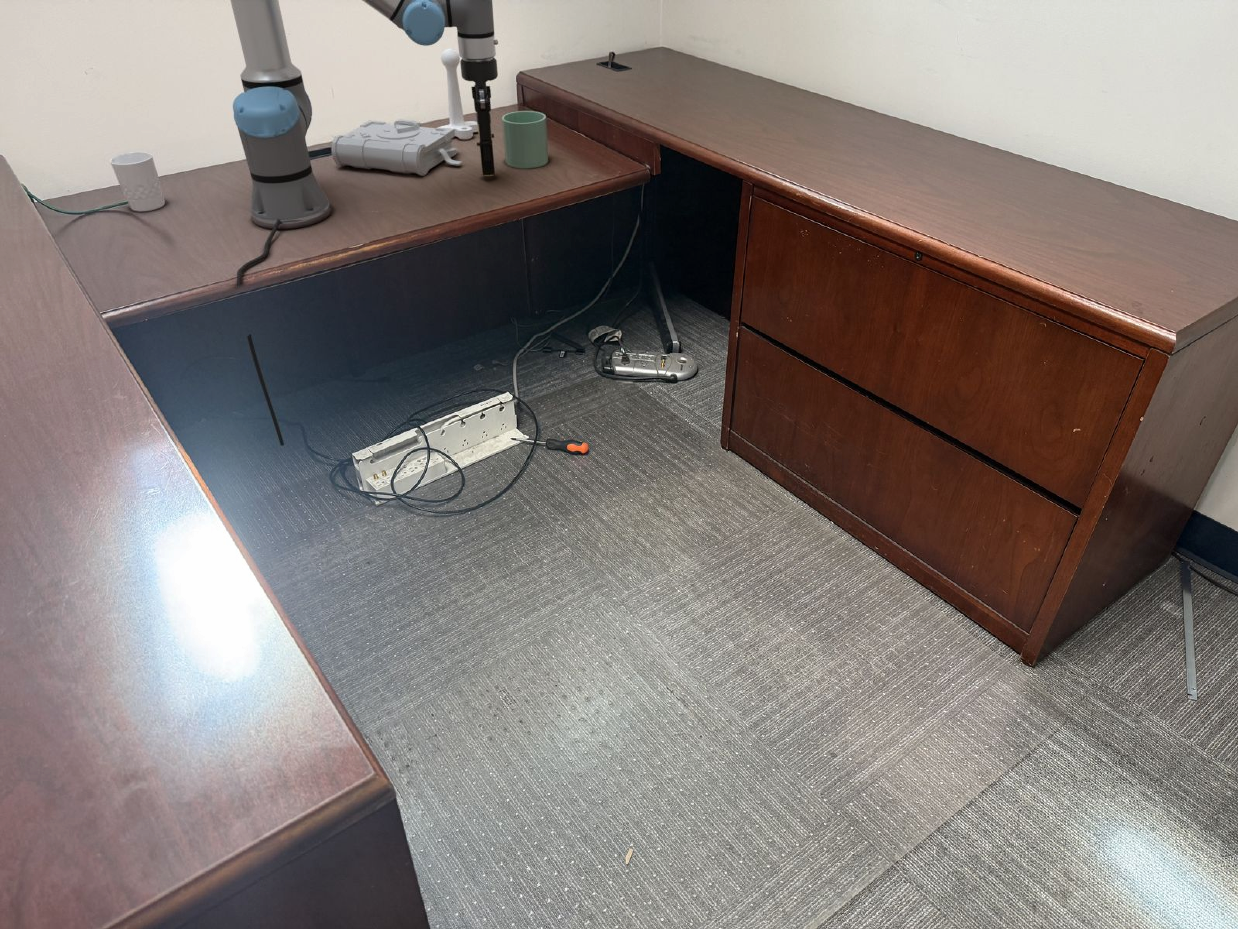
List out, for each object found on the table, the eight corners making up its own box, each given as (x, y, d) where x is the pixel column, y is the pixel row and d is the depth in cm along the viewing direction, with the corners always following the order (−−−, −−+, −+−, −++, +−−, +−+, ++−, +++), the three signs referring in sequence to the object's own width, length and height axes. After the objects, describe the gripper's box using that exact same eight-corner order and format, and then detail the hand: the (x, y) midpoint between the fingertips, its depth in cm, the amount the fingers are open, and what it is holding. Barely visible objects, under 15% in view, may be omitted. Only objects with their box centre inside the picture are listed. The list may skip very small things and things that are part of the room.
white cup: (153, 214, 174) (135, 165, 168) (119, 211, 176) (100, 162, 170) (176, 200, 180) (160, 152, 174) (143, 197, 182) (126, 150, 176)
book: (441, 181, 188) (436, 146, 184) (331, 168, 195) (324, 134, 190) (477, 156, 203) (474, 123, 199) (374, 144, 210) (369, 112, 205)
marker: (495, 175, 188) (490, 115, 180) (482, 176, 188) (476, 115, 180) (495, 171, 191) (489, 111, 183) (481, 172, 190) (475, 111, 182)
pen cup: (550, 166, 196) (547, 122, 189) (507, 169, 194) (503, 124, 188) (546, 153, 203) (543, 109, 197) (504, 155, 202) (500, 111, 196)
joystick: (472, 128, 219) (464, 44, 207) (488, 135, 215) (480, 49, 203) (434, 136, 214) (424, 49, 202) (449, 143, 209) (440, 55, 197)
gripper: (498, 66, 169) (507, 183, 183) (494, 48, 181) (503, 159, 196) (460, 67, 168) (472, 184, 182) (459, 49, 180) (470, 160, 195)
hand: (488, 171), depth 189 cm, fingers closed on marker, 3 cm apart
